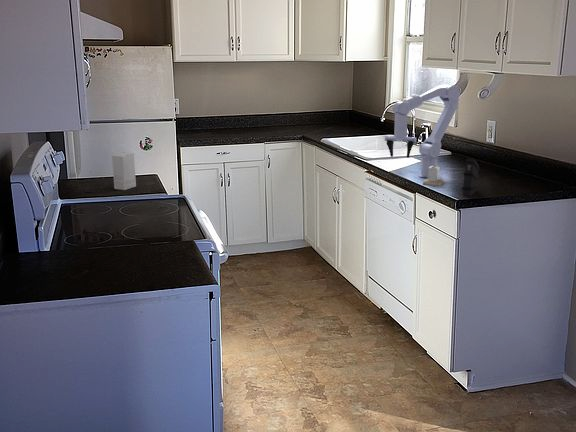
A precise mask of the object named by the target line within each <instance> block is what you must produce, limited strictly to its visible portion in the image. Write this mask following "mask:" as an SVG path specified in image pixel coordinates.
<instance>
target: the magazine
mask: <svg viewBox="0 0 576 432" xmlns="http://www.w3.org/2000/svg"><path fill="white" fill-rule="evenodd" d="M464 163H465V170H464V172H463V176H464V177H463V186H462V187H461V188H462V189H461V190H462V195H463V196H464V195H465V196H466V197H471V196H472V195H473V194H474V193H477V188H479V186H478V180H479V172H480V170H481V169H480V166H479V164H478V162H477V161H476V160H475V159H474V158H466V160H465V161H464Z"/></svg>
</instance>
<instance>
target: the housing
mask: <svg viewBox="0 0 576 432" xmlns="http://www.w3.org/2000/svg"><path fill="white" fill-rule="evenodd" d="M440 169H441V168H440V166H438V165H437V166H436V165H434V166H430V167H429V168H428V177H427V178H428V181H434V182H437V181H438V180H439V179H440Z"/></svg>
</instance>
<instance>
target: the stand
mask: <svg viewBox="0 0 576 432" xmlns="http://www.w3.org/2000/svg"><path fill="white" fill-rule="evenodd" d="M444 183H445V180H444V179H443V178H439V180H438V181H437V182H434V181H428V177H426V179H424V180H423V182H422V185H426V186H440V187H441V186H442V185H443V184H444Z"/></svg>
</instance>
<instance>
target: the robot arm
mask: <svg viewBox="0 0 576 432" xmlns="http://www.w3.org/2000/svg"><path fill="white" fill-rule="evenodd" d="M460 95H461V92H460V89H459V87H458V86H457V85H454V84H453V85H450V84H445V83H444V84H441V85H437V86H436V87H434V88H432V89H430V90H428V91H426V92H425V93H422V94H421V95H419V94H411V95H410V97H407V98H403V99H402V101H396V102H395V103H394V105H393V107H392V112H393V113H394V129H393V130H394V133H393V134H394V135H393V136H384V142H386V145H387V148H388V151H389V155H390V157H391V158H393V157H394V143H395V142H405V143H406V149H407V150H406V151H407V152H406V158H410V155H411V151H412V148H413V146H414V144H415V143H416V142H417V137H412V136H408V131H407V130H408V114H409V113H410V112H411V111H413V110H415V109H417V108H419V107H421V106H422V105H423V103H424V102H427V101H429V100H432V99H434V98H437V97H439V98H440V100H441V101H442V102H443V105H444V108H442V109H443V110H442V112H441V114H440V116H439V118H438V119H437V122H436V123H435V125H434V128H433V130H432V131H431V134H430V135H429V136H428V137H426V138H425V139H424V141H423V142H422V143H421V145H419V149H418V151H419V154H420V155H421V156H420V157H421V163H420V164H421V165H420V174H419V175H418V177H419V178H428V168H429V167H430V166H434V165H436V166H438V158H439V156H440V154H441V148H442V142H441V141H442V139H443V137H444V135H445V133H446V131H447V130H448V127H449V126H450V123H451V121H452V119H453V118H454V115H455V113H456V111H457V109H458V106H459V98H460Z"/></svg>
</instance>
